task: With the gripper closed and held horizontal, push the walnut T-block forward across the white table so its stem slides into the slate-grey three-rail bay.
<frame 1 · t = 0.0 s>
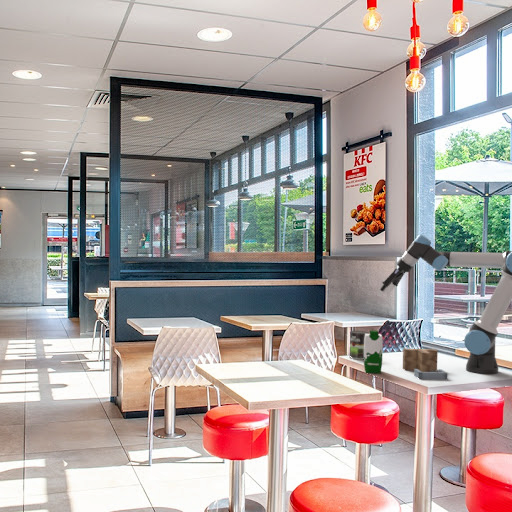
hand: (381, 294, 315), 36 cm above the table, tool tilted 35°, fingers open, 13 cm apart
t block: (419, 369, 305), on the table
milk carton: (372, 372, 297), on the table
bay: (430, 377, 287), on the table
coffee can: (358, 358, 335), on the table
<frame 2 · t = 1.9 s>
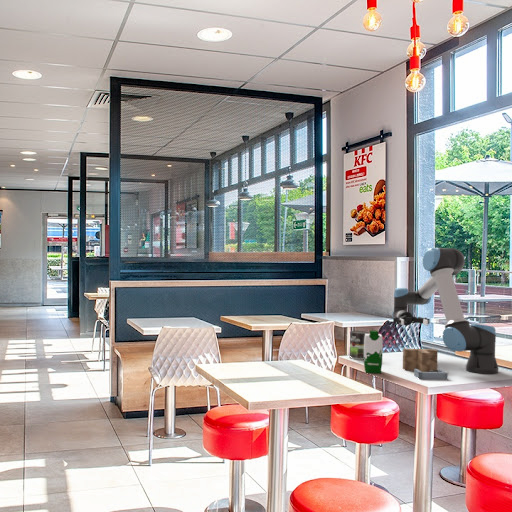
hand: (415, 322, 315), 22 cm above the table, tool horizontal, fingers open, 12 cm apart
nothing on the table moved.
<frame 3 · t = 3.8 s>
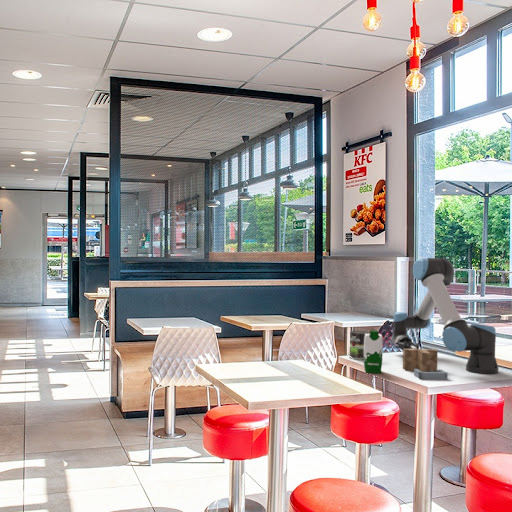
hand: (415, 350, 313), 8 cm above the table, tool horizontal, fingers closed
nothing on the table moved.
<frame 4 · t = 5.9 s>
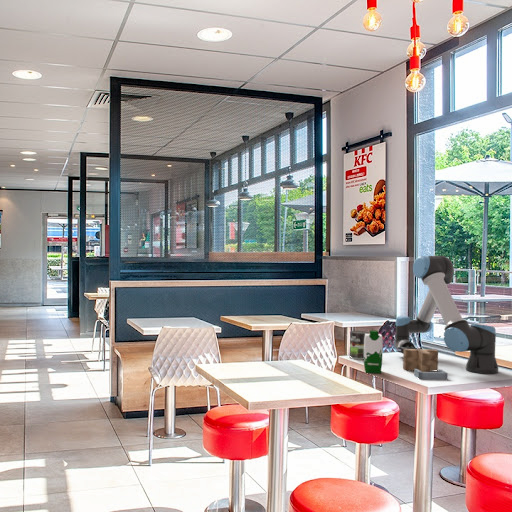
hand: (418, 355, 306), 7 cm above the table, tool horizontal, fingers closed
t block: (420, 370, 304), on the table
everything else where it was.
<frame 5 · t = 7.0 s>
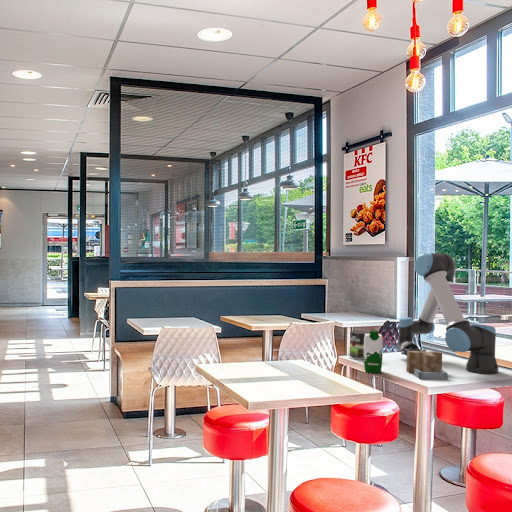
hand: (422, 357, 300), 7 cm above the table, tool horizontal, fingers closed
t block: (423, 372, 298), on the table, touching gripper
everything else where it was.
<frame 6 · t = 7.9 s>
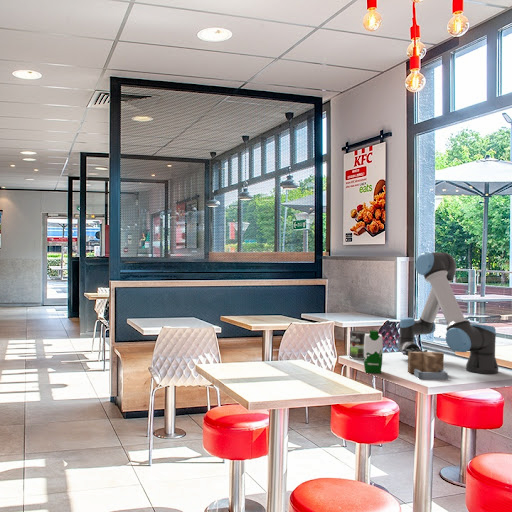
hand: (423, 357, 298), 7 cm above the table, tool horizontal, fingers closed
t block: (425, 373, 296), on the table, touching gripper
everything else where it was.
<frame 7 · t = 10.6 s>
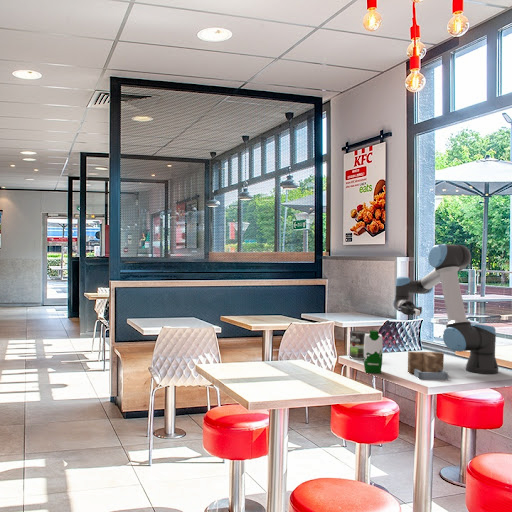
hand: (418, 313, 311), 27 cm above the table, tool horizontal, fingers closed
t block: (425, 373, 296), on the table
everything else where it was.
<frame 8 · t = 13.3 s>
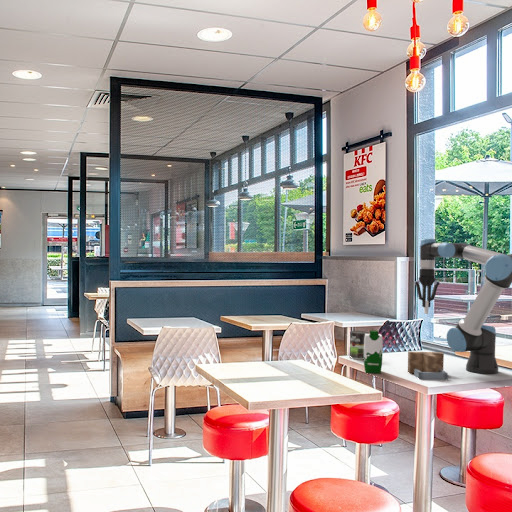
hand: (426, 313, 321), 26 cm above the table, tool pointing down, fingers closed
nothing on the table moved.
at the end: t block inside the target area (0.9 cm from its centre), on the table; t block tilted 0° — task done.
